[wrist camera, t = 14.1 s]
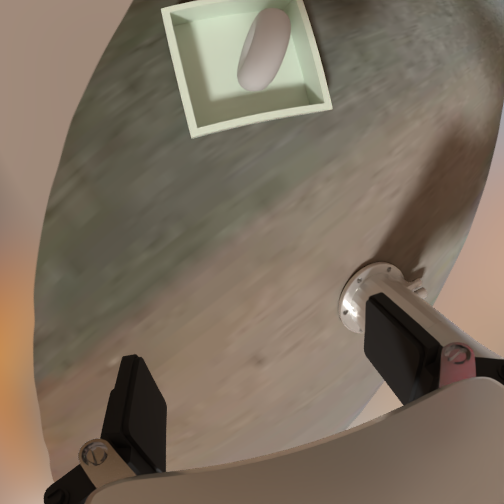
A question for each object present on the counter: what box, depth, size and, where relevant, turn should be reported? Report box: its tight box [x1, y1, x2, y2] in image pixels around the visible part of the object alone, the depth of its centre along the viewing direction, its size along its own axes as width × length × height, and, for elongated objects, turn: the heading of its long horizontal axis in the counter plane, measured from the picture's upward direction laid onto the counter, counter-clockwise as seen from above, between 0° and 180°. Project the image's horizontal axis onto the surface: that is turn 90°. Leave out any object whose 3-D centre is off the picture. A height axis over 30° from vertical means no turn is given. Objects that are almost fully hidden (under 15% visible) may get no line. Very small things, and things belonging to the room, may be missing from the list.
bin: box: [161, 0, 332, 139], centre depth 28 cm, size 16×16×5 cm
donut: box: [237, 8, 291, 92], centre depth 25 cm, size 10×3×10 cm, turn 167°
